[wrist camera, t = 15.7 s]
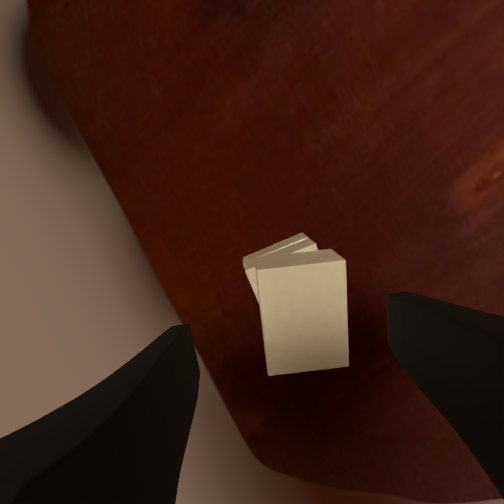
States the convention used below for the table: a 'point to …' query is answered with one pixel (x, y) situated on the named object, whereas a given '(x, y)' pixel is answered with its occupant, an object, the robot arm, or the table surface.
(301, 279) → the cream rectangular block
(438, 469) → the table surface
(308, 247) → the cream seamed block
